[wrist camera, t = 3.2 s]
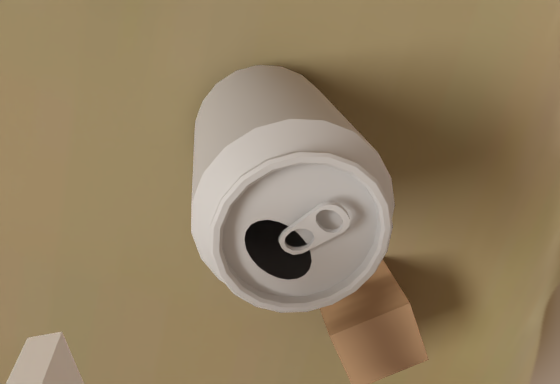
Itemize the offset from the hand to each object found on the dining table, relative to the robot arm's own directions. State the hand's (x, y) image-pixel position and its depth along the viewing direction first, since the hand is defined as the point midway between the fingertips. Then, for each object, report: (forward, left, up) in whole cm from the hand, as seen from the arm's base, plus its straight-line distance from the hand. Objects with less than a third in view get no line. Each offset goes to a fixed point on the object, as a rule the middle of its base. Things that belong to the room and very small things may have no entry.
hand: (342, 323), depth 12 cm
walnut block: (+5, -13, -16) cm, 21 cm away
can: (0, 0, -16) cm, 16 cm away
